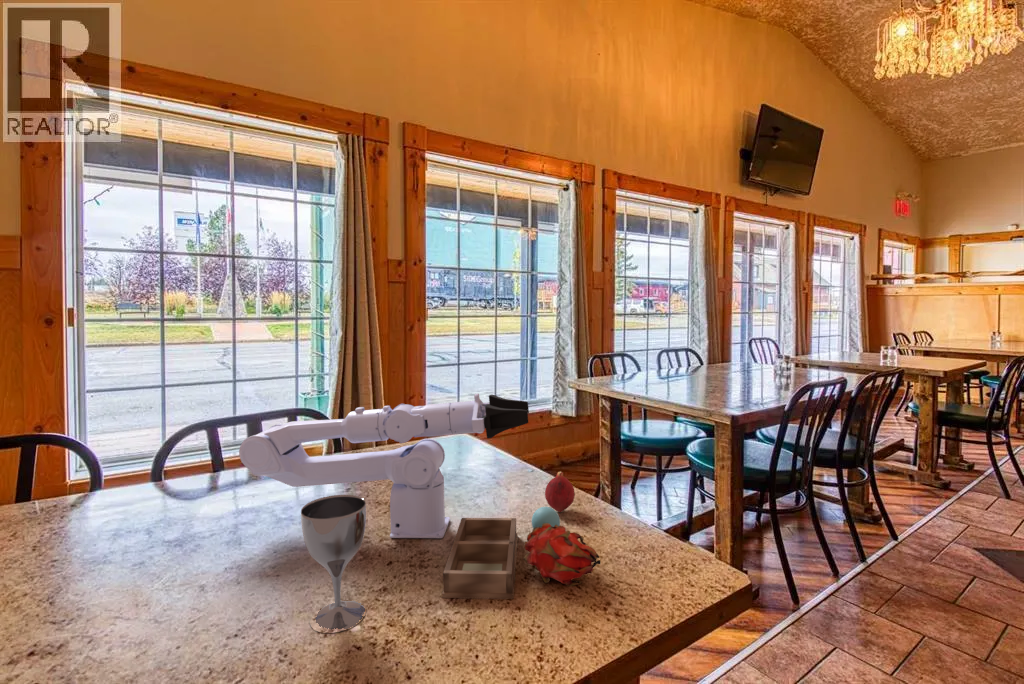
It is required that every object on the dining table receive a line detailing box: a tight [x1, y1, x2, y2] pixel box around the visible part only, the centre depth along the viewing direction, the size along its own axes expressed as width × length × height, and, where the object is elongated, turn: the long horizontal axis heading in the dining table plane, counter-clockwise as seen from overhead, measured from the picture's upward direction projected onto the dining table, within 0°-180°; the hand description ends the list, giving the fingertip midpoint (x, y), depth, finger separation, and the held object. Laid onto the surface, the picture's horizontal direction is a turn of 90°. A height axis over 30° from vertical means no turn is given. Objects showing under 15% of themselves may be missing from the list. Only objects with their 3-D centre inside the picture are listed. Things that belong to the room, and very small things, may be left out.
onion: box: [544, 471, 576, 513], centre depth 99 cm, size 6×6×8 cm
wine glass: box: [300, 494, 367, 630], centre depth 66 cm, size 8×8×15 cm
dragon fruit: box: [522, 523, 601, 587], centre depth 76 cm, size 8×8×12 cm
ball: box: [531, 506, 561, 530], centre depth 90 cm, size 5×5×5 cm
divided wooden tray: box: [441, 517, 519, 600], centre depth 80 cm, size 10×19×3 cm, turn 177°
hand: (528, 411), depth 90 cm, fingers open, 7 cm apart
